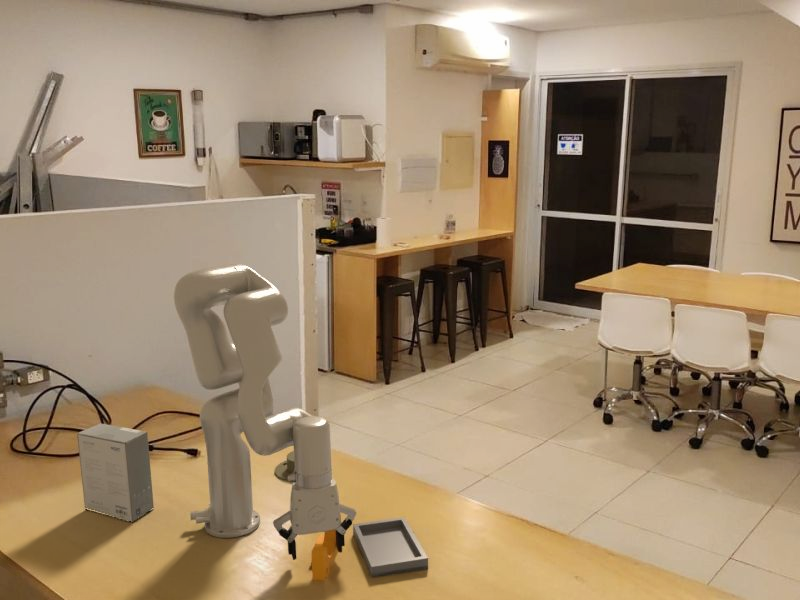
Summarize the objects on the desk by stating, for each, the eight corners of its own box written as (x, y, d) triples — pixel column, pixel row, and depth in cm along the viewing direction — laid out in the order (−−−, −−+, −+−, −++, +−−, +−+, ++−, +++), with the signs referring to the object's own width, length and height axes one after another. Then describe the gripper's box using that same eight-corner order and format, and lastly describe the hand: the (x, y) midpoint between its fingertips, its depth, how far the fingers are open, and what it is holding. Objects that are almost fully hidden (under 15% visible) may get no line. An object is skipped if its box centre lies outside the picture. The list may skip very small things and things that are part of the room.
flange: (297, 440, 212) (262, 459, 199) (341, 451, 204) (307, 471, 192) (298, 456, 213) (263, 476, 200) (341, 467, 205) (308, 488, 193)
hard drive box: (155, 509, 182) (149, 431, 177) (132, 523, 175) (125, 443, 171) (107, 497, 188) (100, 421, 184) (83, 510, 181) (75, 432, 177)
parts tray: (371, 578, 152) (371, 566, 152) (353, 534, 169) (353, 524, 169) (428, 568, 156) (428, 558, 155) (404, 527, 173) (404, 517, 172)
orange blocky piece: (320, 548, 164) (319, 521, 163) (339, 549, 163) (338, 522, 162) (304, 579, 153) (303, 550, 151) (324, 581, 152) (324, 552, 151)
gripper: (273, 490, 148) (277, 569, 152) (358, 479, 153) (360, 555, 156) (269, 475, 156) (273, 550, 159) (350, 464, 160) (353, 538, 163)
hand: (316, 552), depth 158 cm, fingers open, 9 cm apart
